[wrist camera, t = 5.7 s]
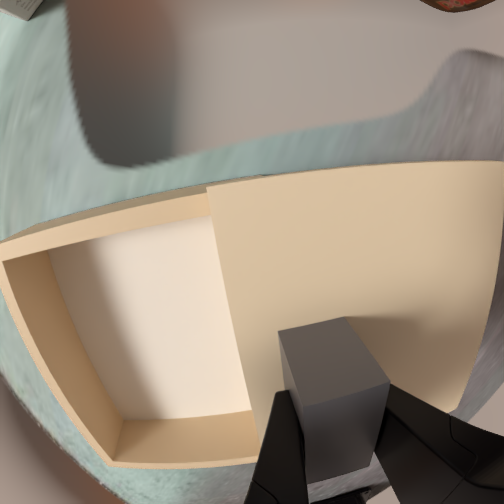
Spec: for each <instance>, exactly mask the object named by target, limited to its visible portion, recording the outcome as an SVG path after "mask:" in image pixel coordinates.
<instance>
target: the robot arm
mask: <svg viewBox="0 0 504 504" xmlns="http://www.w3.org/2000/svg"><path fill="white" fill-rule="evenodd" d="M374 452H375V454H376V456H377V458H378V460H379V462H380V464H381V466H382V468H383V470H384V472H385V474H386V476H387V478H388V480H389V482H390V484H391V486H392V488H393V490H394V492H395V494H396V496H397V498H398V500H399V502H400V504H504V436H501V435H498V434H495V433H492V432H488V431H486V430H483V429H480V428H478V427H475V426H473V425H470V424H468V423H466V422H464V421H462V420H460V419H458V418H456V417H454V416H450V415H449V414H448V413H446V412H444V411H442V410H440V409H438V408H436V407H434V406H432V405H430V404H428V403H426V402H425V401H423V400H421V399H419V398H417V397H415V396H413V395H411V394H410V393H408V392H406V391H404V390H402V389H400V388H399V387H397V386H395V385H393V384H391V383H390V387H389V392H388V397H387V401H386V406H385V410H384V415H383V419H382V423H381V427H380V430H379V434H378V438H377V442H376V445H375V448H374ZM370 493H371V488H370V487H368V488H365V489H362V490H359V491H356V492H353V493H350V494H347V495H344V496H340V497H337V498H334V499H330V500H326V501H322V502H319V503H315V504H366V502H367V500H368V497H369V495H370ZM244 504H309V500H308V490H307V481H306V471H305V462H304V453H303V444H302V436H301V427H300V422H299V419H298V416H297V413H296V410H295V407H294V404H293V401H292V398H291V396H290V393H289V390H282V391H277V392H276V393H275V395H274V399H273V403H272V407H271V411H270V415H269V419H268V423H267V427H266V430H265V434H264V438H263V442H262V445H261V449H260V453H259V456H258V460H257V463H256V467H255V470H254V474H253V477H252V481H251V483H250V486H249V490H248V493H247V496H246V498H245V501H244Z"/></svg>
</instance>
